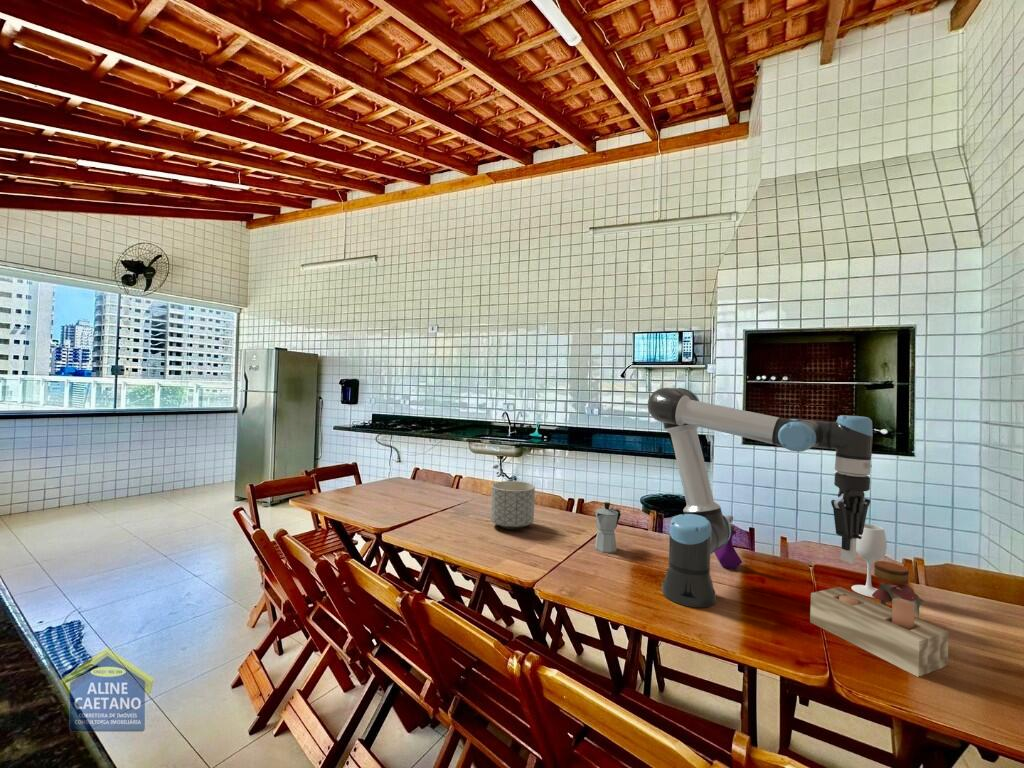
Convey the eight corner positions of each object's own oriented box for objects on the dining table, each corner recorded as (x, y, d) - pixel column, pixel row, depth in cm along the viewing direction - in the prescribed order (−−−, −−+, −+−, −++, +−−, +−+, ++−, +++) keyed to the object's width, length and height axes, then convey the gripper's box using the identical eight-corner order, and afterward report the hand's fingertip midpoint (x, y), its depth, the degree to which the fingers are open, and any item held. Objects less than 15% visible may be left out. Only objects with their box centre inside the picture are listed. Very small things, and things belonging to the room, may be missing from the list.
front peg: (907, 637, 103) (908, 607, 103) (887, 628, 107) (888, 599, 107) (917, 634, 105) (918, 604, 105) (897, 625, 108) (898, 597, 108)
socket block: (918, 677, 98) (919, 641, 98) (810, 622, 120) (810, 593, 120) (947, 665, 103) (948, 631, 103) (838, 614, 125) (839, 586, 125)
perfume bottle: (742, 571, 153) (743, 519, 153) (719, 569, 154) (720, 518, 154) (735, 563, 160) (737, 513, 160) (713, 560, 162) (715, 512, 162)
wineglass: (878, 601, 134) (880, 532, 134) (845, 589, 142) (847, 524, 142) (891, 595, 138) (893, 528, 138) (859, 584, 146) (861, 521, 146)
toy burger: (908, 636, 115) (909, 579, 115) (854, 612, 126) (856, 560, 126) (932, 627, 119) (933, 572, 119) (878, 605, 131) (879, 555, 131)
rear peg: (851, 630, 114) (852, 603, 114) (835, 622, 118) (835, 596, 118) (860, 627, 116) (861, 601, 116) (844, 620, 120) (845, 594, 120)
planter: (507, 517, 207) (508, 479, 207) (541, 526, 196) (542, 485, 196) (481, 527, 192) (483, 485, 192) (517, 537, 180) (518, 493, 180)
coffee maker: (604, 556, 163) (606, 507, 163) (586, 549, 170) (587, 502, 170) (628, 547, 173) (629, 501, 173) (609, 541, 179) (611, 497, 179)
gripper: (852, 477, 111) (847, 570, 111) (883, 475, 116) (879, 564, 116) (821, 471, 118) (817, 558, 118) (852, 469, 123) (848, 553, 123)
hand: (848, 561), depth 117 cm, fingers closed
